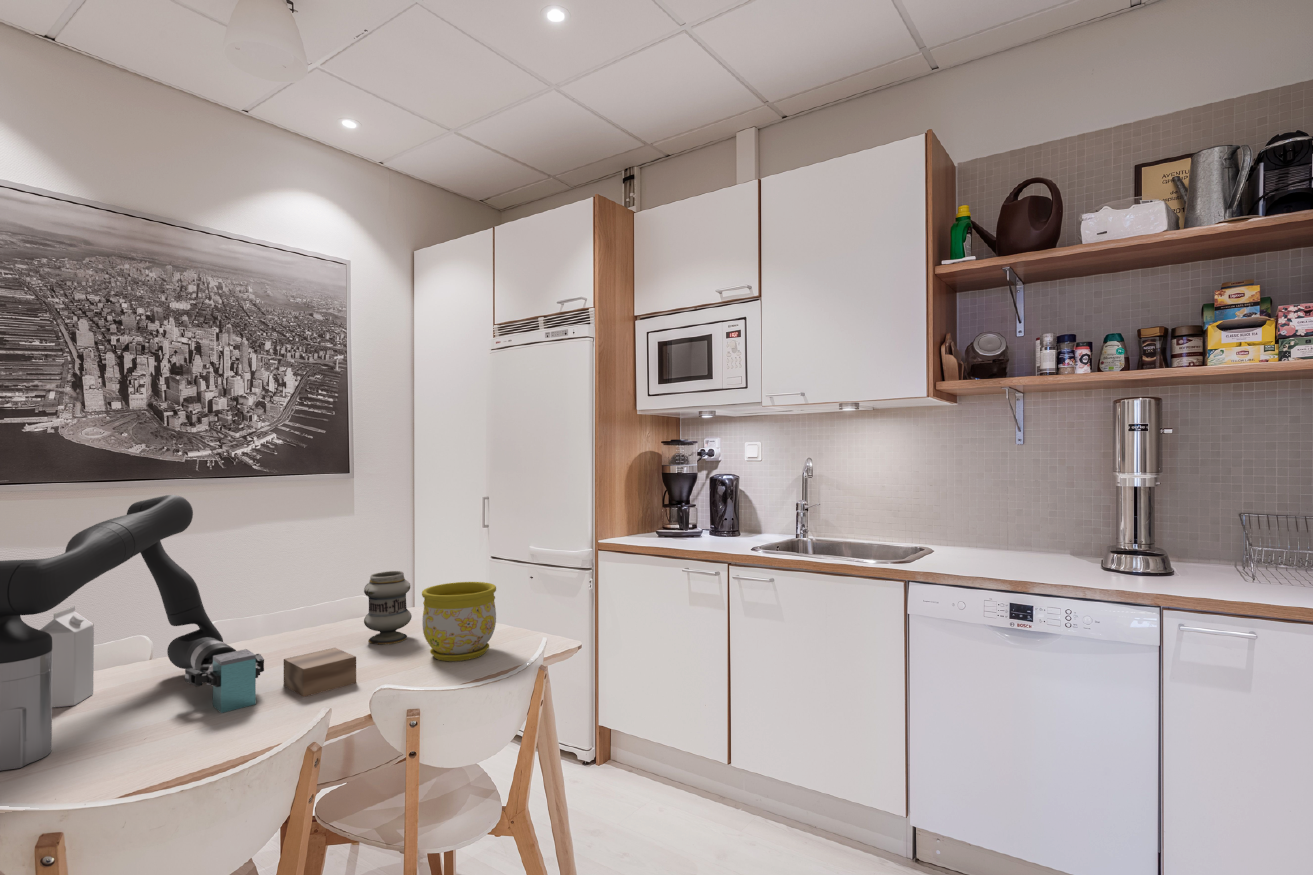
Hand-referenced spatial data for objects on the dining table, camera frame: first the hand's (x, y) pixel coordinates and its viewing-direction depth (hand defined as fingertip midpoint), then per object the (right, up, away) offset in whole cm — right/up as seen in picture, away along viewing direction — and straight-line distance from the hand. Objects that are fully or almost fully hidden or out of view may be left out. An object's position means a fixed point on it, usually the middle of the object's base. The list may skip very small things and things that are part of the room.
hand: (237, 677), depth 133 cm
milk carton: (-39, -7, +5) cm, 40 cm away
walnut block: (+10, -6, +13) cm, 18 cm away
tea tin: (-2, -6, +1) cm, 7 cm away
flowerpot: (+34, -7, +34) cm, 49 cm away
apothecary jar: (+11, -7, +48) cm, 50 cm away
